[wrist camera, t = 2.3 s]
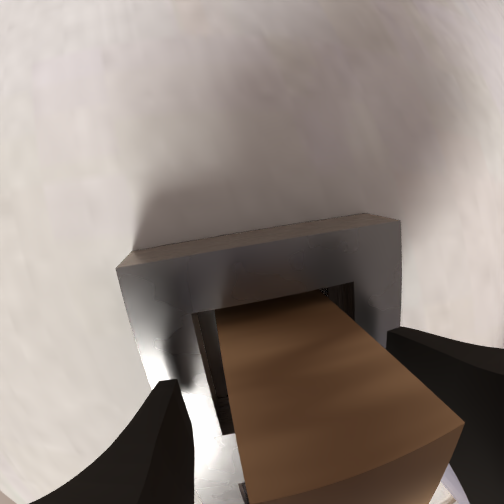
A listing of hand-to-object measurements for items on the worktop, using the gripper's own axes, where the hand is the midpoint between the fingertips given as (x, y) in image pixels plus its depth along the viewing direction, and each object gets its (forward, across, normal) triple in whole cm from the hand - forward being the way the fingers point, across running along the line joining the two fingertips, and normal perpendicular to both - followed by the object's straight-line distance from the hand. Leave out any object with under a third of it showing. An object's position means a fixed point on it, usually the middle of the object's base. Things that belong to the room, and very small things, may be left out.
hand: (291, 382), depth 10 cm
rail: (+3, 0, +9) cm, 10 cm away
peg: (+3, 0, 0) cm, 3 cm away
